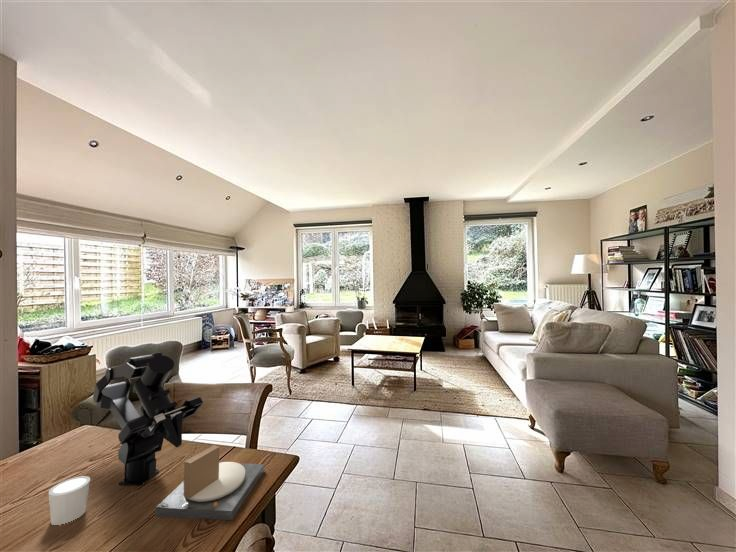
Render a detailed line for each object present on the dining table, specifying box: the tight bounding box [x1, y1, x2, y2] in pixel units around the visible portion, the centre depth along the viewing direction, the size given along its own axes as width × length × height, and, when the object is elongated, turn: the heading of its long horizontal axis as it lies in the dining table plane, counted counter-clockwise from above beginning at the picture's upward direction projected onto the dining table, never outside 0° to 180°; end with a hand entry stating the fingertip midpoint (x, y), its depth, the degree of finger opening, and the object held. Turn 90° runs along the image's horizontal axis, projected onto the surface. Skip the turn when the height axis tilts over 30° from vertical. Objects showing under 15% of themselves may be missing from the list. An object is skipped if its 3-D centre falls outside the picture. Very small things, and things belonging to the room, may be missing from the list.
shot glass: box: [48, 475, 91, 526], centre depth 69 cm, size 7×7×7 cm
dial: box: [183, 444, 245, 502], centre depth 77 cm, size 15×14×9 cm
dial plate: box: [154, 462, 265, 521], centre depth 77 cm, size 18×18×2 cm
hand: (179, 445), depth 75 cm, fingers closed
